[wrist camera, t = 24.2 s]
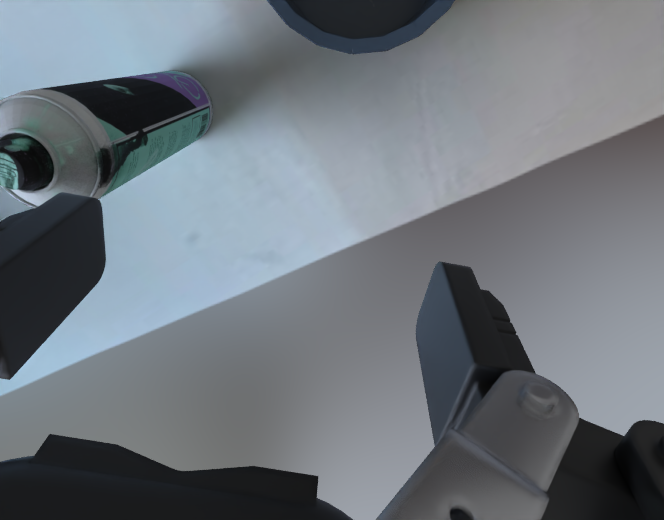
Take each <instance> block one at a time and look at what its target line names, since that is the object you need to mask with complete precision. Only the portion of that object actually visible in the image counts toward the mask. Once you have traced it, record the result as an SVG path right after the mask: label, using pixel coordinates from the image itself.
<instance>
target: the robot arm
mask: <svg viewBox="0 0 664 520" xmlns="http://www.w3.org/2000/svg"><path fill="white" fill-rule="evenodd" d="M105 262H106V254H105V241H104V228H103V215H102V207H101V204H100V202H99V200H98V199H96V198H92V197H87V196H81V195H76V194H71V193H65V192H61V193H58V194H57V195H55V196H54V197H52V198H51V199H49V200H47V201H46V202H44V203H43V204H41V205H40V206H38V207H37V208H33V209H30V210H27V211H24V212H21V213H17V214H14V215H11V216H9V217H7V218H6V219H4V220H2V221H1V222H0V378H2V379H8V380H10V379H11V378H12V377H13V376H14V375H15V374H16V372H17V371H18V370H19V369H20V368H21V367H22V366H23V365H24V364H25V363H26V361H27V360H28V359H29V358H30V357H31V356H32V355H33V354H34V353H35V352H36V350H37V349H38V348H39V347H40V346H41V345H42V344H43V343H44V342H45V341H46V339H47V338H48V337H49V336H50V335H51V334H52V333H53V332H54V331H55V329H56V328H57V327H58V326H59V325H60V324H61V323H62V322H63V321H64V320H65V318H66V317H67V316H68V315H69V314H70V313H71V312H72V311H73V310H74V309H75V307H76V306H77V305H78V304H79V303H80V302H81V301H82V300H83V299H84V298H85V296H86V295H87V294H88V293H89V292H90V291H91V290H92V289H93V288H94V287H95V285H96V284H97V283H98V282H99V280H100V279H101V277H102V274H103V272H104V268H105ZM416 341H417V346H418V352H419V358H420V364H421V370H422V375H423V381H424V387H425V393H426V398H427V404H428V410H429V415H430V421H431V427H432V433H433V438H434V444H435V447H434V449H433V450H432V451H431V452H430V454H429V455H428V456H427V457H426V459H425V460H424V461H423V462H422V464H421V465H420V466H419V467H418V468H417V470H416V471H415V472H414V473H413V475H412V476H411V477H410V478H409V479H408V481H407V482H406V483H405V485H404V486H403V487H402V488H401V489H400V490H399V492H398V493H397V494H396V495H395V497H394V498H393V499H392V500H391V502H390V503H389V504H388V505H387V506H386V508H385V509H384V510H383V511H382V513H381V514H380V515H379V516H378V517H377V519H376V520H664V424H663V423H659V422H656V421H648V420H643V421H638V422H636V423H634V424H633V425H632V427H631V428H630V429H629V431H628V432H627V433H626V435H625V436H622V435H620V434H617V433H615V432H612V431H610V430H607V429H605V428H602V427H600V426H597V425H595V424H593V423H590V422H588V421H585V420H583V419H581V418H579V413H578V410H577V407H576V405H575V404H574V402H573V401H572V399H571V398H570V397H569V396H568V394H566V392H564V391H563V390H562V389H561V388H560V387H559V386H557V385H556V384H554V383H553V382H551V381H550V380H548V379H546V378H544V377H542V376H540V375H537V374H536V373H535V371H534V369H533V367H532V365H531V362H530V361H529V358H528V356H527V354H526V352H525V350H524V348H523V346H522V344H521V341H520V339H519V338H518V336H517V335H516V331H515V329H514V327H513V325H512V323H510V318H509V316H508V314H507V312H506V310H505V308H504V306H503V305H502V304H501V302H499V301H498V300H497V299H496V298H495V297H494V296H493V295H492V294H491V293H490V292H489V291H487V290H481V289H480V287H479V285H478V283H477V280H476V278H475V275H474V273H473V271H472V269H471V268H470V267H467V266H462V265H456V264H450V263H445V262H438V263H437V264H436V266H435V268H434V271H433V274H432V276H431V280H430V283H429V285H428V288H427V291H426V294H425V297H424V300H423V303H422V306H421V309H420V312H419V315H418V319H417V325H416ZM317 486H318V476H314V475H307V474H301V473H294V472H288V471H281V470H275V469H268V468H263V467H256V466H249V467H237V468H223V469H211V470H197V471H178V470H175V469H172V468H169V467H167V466H165V465H163V464H161V463H158V462H156V461H154V460H151V459H149V458H147V457H144V456H142V455H140V454H137V453H135V452H133V451H131V450H128V449H126V448H124V447H121V446H119V445H116V444H110V443H103V442H97V441H90V440H84V439H78V438H71V437H65V436H59V435H52V434H50V435H49V436H48V437H47V439H46V440H45V441H44V443H43V444H42V446H41V447H40V449H39V450H38V451H37V453H36V454H35V456H28V457H22V458H16V459H10V460H6V461H2V462H0V520H353V519H351V518H350V517H349V516H347V515H346V514H345V513H343V512H342V511H341V510H339V509H337V508H335V507H334V506H332V505H330V504H329V503H327V502H325V501H322V500H320V499H318V498H317Z"/></svg>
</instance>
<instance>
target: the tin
mask: <svg viewBox="0 0 664 520" xmlns="http://www.w3.org/2000/svg"><path fill="white" fill-rule="evenodd" d="M267 1H268V2H269V4H270V5H271V6H272V7H273V9H274V10H275V11H276V12H277V13H278V15H279V16H280V17H281V18H282V20H283V21H284V22H285V23H286V25H288V26H289V27H290V28H291V29H293V30H295V31H296V32H298V33H299V34H301V35H302V36H304V37H305V38H307V39H308V40H310V41H311V42H313V43H314V44H316V45H319V46H320V47H324V48H328V49H332V50H336V51H340V52H344V53H348V54H361V53H371V52H382V51H388V50H390V49H392V48H394V47H397V46H399V45H401V44H403V43H405V42H408V41H410V40H412V39H414V38H416V37H418V36H420V35H421V34H423V33H424V32H425V31H426V30H427V29H428V28H429V27H430V26H431V25H432V24H434V23H435V22H436V21H437V20H438V19H439V18H440V17H441V16H442V15H444V14H445V13H446V12H447V11H448V10H449V9H450V8H451V6H452V4H453V3H454V1H455V0H267Z"/></svg>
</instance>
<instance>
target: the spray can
mask: <svg viewBox="0 0 664 520" xmlns="http://www.w3.org/2000/svg"><path fill="white" fill-rule="evenodd" d="M212 115H213V109H212V103H211V99H210V97H209V95H208V93H207V91H206V89H205V88H204V87H203V85H202V84H201V83H200V82H199V81H198V80H196V79H195V78H194V77H192V76H190V75H188V74H186V73H183V72H179V71H166V72H158V73H151V74H144V75H137V76H129V77H122V78H115V79H108V80H100V81H93V82H86V83H79V84H71V85H64V86H57V87H50V88H42V89H35V90H28V91H22V92H19V93H17V94H14V95H12V96H9V97H7V98H4V99H2V100H0V185H1V186H2V187H3V188H4V190H6V191H7V192H8V193H9V194H10V195H11V196H13V197H14V198H15V199H17V200H18V201H20V202H21V203H23V204H25V205H27V206H29V207H31V208H37V207H38V206H40V205H41V204H43V203H44V202H46V201H47V200H49V199H51V198H52V197H54V196H55V195H57V194H58V193H61V192H65V193H71V194H76V195H81V196H87V197H92V198H96V199H99V198H101V197H103V196H104V195H106V194H108V193H110V192H111V191H113V190H115V189H116V188H118V187H120V186H121V185H123V184H125V183H126V182H128V181H130V180H131V179H133V178H135V177H136V176H138V175H140V174H141V173H143V172H145V171H146V170H148V169H150V168H151V167H153V166H155V165H156V164H158V163H160V162H161V161H163V160H165V159H166V158H168V157H170V156H171V155H173V154H175V153H176V152H178V151H180V150H181V149H183V148H185V147H186V146H188V145H190V144H191V143H193V142H195V141H196V140H198V139H199V138H201V137H202V136H203V135H204V134H205V133H206V132H207V130H208V128H209V127H210V124H211V121H212Z"/></svg>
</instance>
